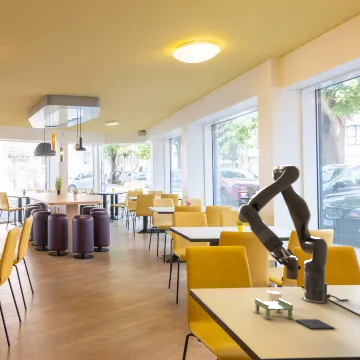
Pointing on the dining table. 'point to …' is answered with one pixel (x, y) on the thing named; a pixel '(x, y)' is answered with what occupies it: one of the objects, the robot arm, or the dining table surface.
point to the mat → (315, 324)
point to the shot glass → (273, 296)
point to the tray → (274, 307)
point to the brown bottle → (294, 263)
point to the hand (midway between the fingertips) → (296, 269)
